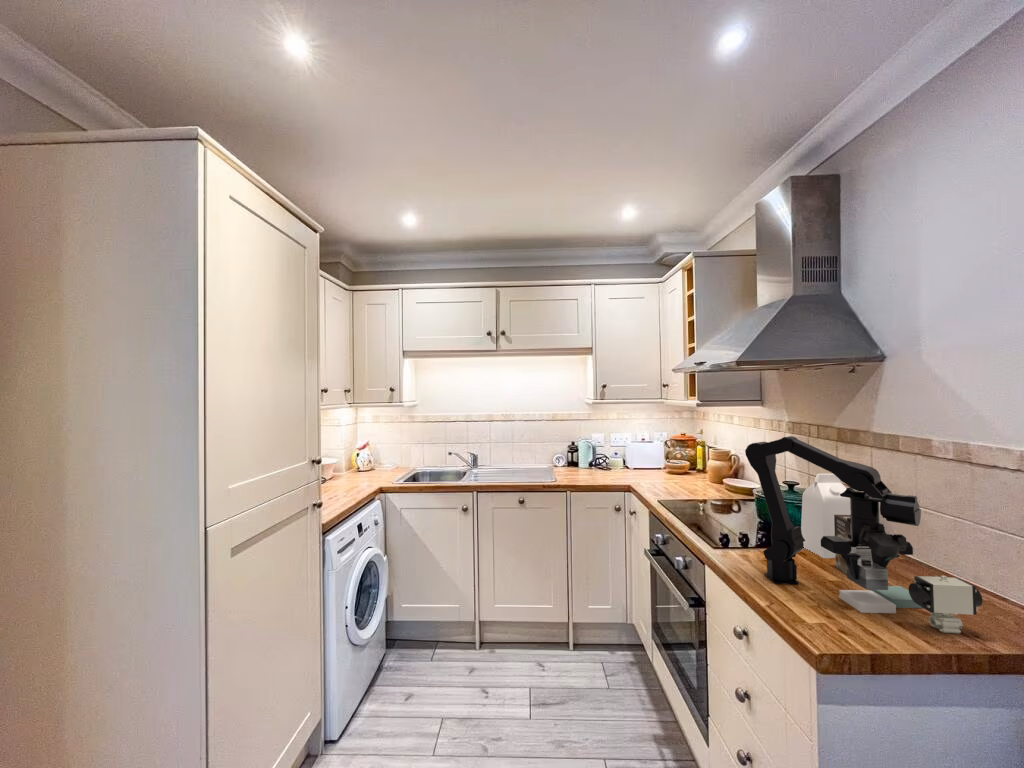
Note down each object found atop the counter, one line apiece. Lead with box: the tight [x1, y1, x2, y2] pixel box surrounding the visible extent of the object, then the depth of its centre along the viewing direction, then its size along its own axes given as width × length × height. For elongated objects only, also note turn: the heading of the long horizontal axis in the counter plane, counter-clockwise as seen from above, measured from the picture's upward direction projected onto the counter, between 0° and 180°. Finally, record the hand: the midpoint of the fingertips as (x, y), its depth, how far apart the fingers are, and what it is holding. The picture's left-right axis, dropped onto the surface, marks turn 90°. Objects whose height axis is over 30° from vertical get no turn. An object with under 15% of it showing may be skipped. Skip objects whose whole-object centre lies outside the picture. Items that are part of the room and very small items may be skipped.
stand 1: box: [838, 589, 897, 614], centre depth 112 cm, size 8×8×2 cm
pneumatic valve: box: [908, 575, 984, 635], centre depth 101 cm, size 6×12×12 cm, turn 82°
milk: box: [800, 473, 851, 559], centre depth 150 cm, size 12×12×26 cm
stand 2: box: [871, 585, 924, 609], centre depth 115 cm, size 8×8×2 cm
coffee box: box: [834, 515, 872, 576], centre depth 133 cm, size 9×6×16 cm
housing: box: [846, 559, 889, 590], centre depth 112 cm, size 5×7×6 cm
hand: (866, 579), depth 112 cm, fingers closed on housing, 5 cm apart
